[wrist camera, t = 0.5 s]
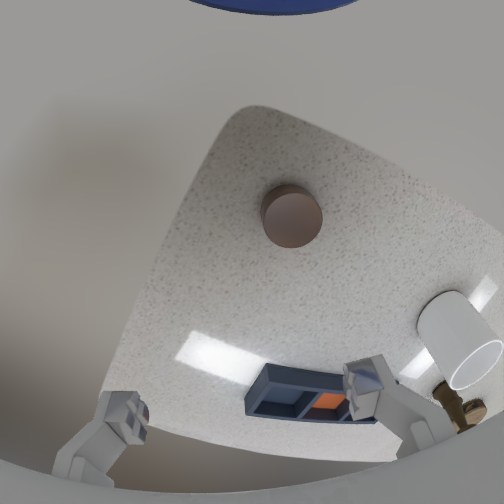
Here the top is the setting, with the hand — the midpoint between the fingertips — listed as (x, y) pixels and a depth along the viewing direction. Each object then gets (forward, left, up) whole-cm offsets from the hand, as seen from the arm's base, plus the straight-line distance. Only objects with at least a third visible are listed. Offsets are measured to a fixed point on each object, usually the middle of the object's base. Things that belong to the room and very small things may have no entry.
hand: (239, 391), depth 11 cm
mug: (+5, +32, -19) cm, 37 cm away
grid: (+21, +22, -19) cm, 36 cm away
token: (-2, +5, -19) cm, 20 cm away
